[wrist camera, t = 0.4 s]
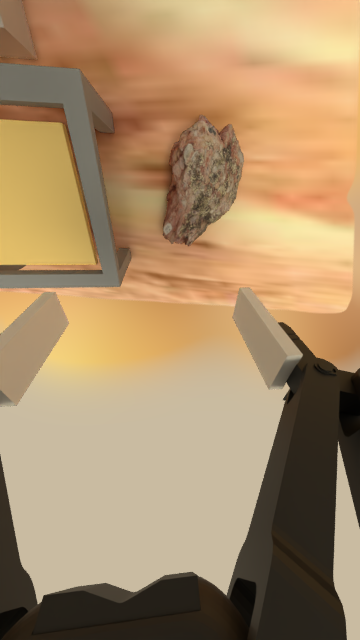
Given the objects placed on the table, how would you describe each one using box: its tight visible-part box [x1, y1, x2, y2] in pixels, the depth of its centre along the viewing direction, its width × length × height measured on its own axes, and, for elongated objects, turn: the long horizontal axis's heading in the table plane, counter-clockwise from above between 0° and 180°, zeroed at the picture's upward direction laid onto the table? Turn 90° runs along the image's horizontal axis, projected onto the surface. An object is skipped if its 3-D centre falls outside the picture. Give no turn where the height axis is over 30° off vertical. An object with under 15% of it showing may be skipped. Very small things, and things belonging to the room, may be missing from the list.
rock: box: [163, 115, 244, 246], centre depth 27 cm, size 16×11×15 cm
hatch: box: [0, 119, 98, 265], centre depth 22 cm, size 14×14×1 cm
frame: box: [0, 63, 131, 288], centre depth 26 cm, size 20×20×12 cm
